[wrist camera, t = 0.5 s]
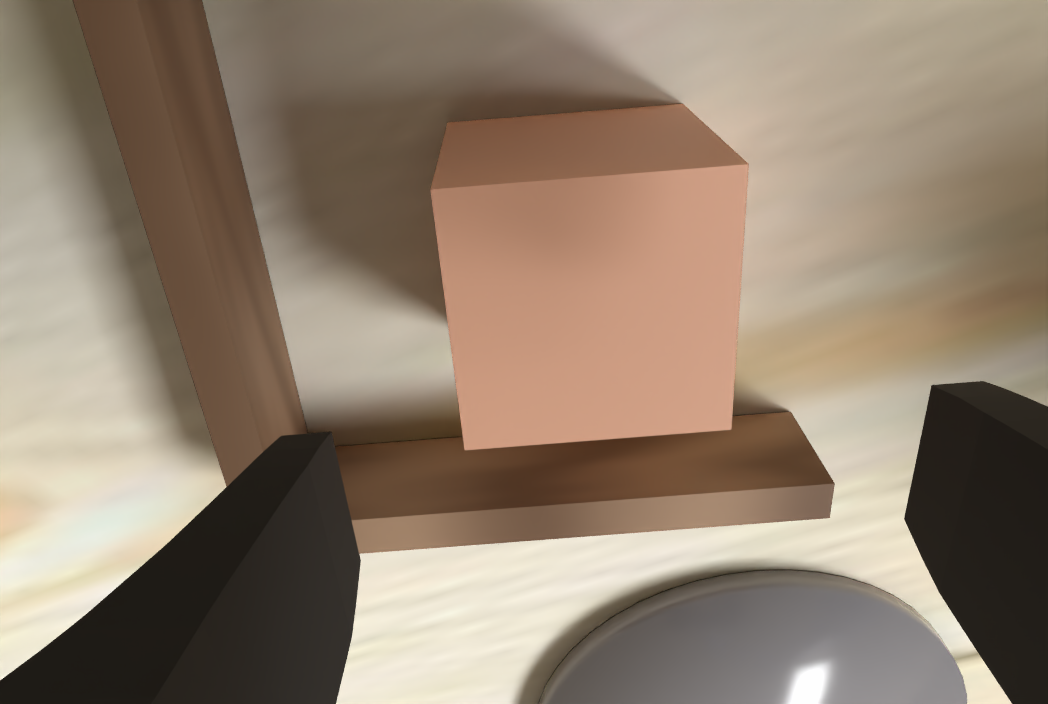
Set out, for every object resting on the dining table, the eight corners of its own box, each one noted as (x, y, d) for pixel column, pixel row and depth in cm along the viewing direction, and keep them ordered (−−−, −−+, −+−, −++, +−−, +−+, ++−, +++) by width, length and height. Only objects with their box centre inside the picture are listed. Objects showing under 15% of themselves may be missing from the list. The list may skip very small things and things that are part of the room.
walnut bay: (849, -130, 15) (926, -143, 12) (787, 443, 21) (829, 518, 18) (130, -71, 15) (50, -72, 12) (281, 482, 21) (250, 561, 18)
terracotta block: (681, 102, 17) (749, 164, 12) (676, 314, 19) (731, 429, 15) (447, 121, 17) (430, 189, 12) (471, 330, 19) (464, 450, 15)
